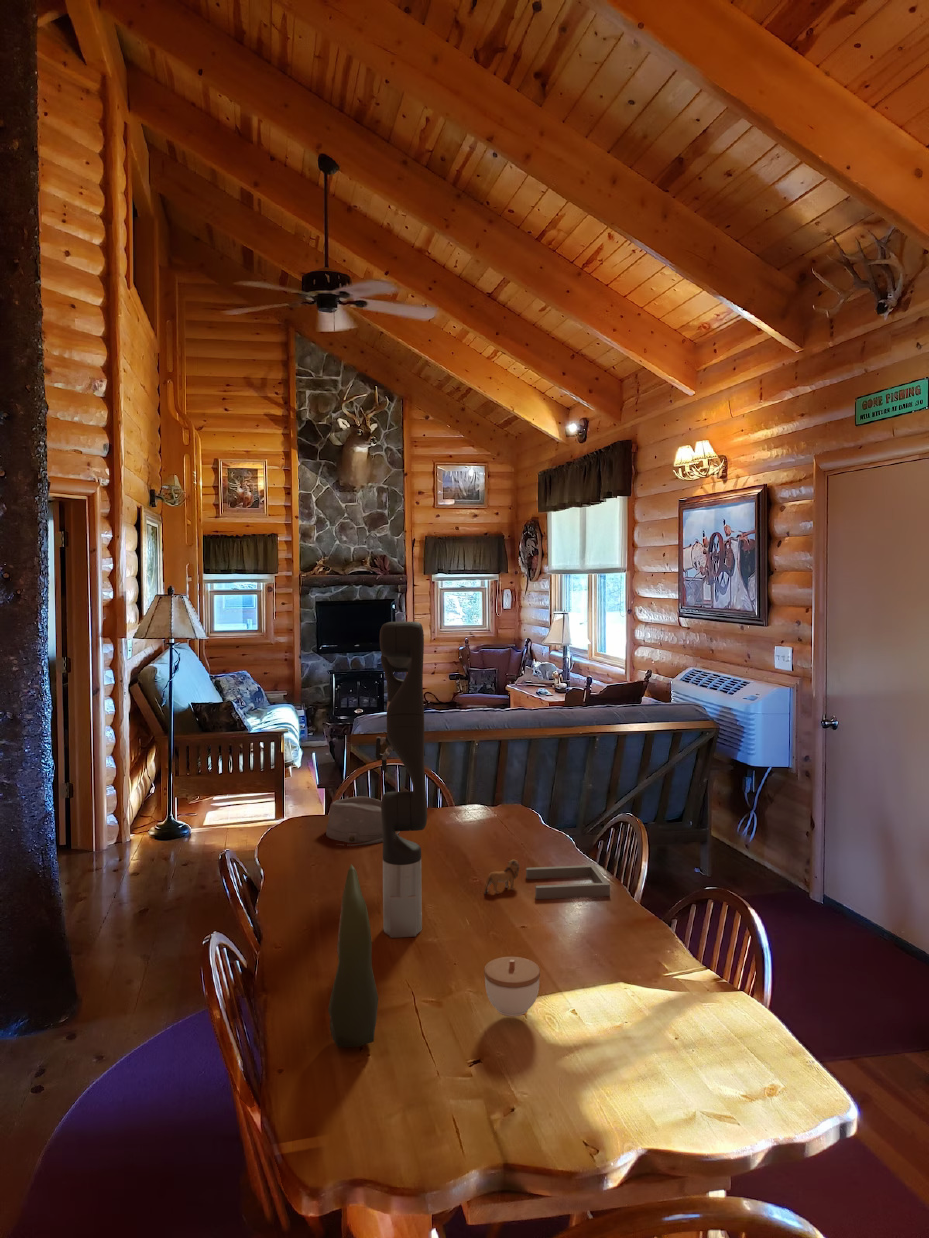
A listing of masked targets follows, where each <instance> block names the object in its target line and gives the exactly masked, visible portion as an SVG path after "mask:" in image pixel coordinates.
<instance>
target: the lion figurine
mask: <svg viewBox="0 0 929 1238" xmlns="http://www.w3.org/2000/svg"><path fill="white" fill-rule="evenodd" d="M519 872H520V863H519V861H518V860H517V859H511V860H509V861H508V862H507V866H506V868H505V869H503V870H502V871H492V872H490V873H489V874H488V875H487V878H486V882H485V883H486V884H485V885H484V895H486V894H488V893H489V889H488V888H489V887H490V885H491V884H492V885H493V891H494V892H495V893H496V894H497V895H499V894H501V892H500V891H499V890H498V885H499V883H504V887H505V888H506V889H507V888H510V889H511V890H512V891H515V889H516V888H515V887H514V884H515V880H516V879H517V878H518V876H519ZM509 882H510V886H509Z"/></svg>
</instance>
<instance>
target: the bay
mask: <svg viewBox="0 0 929 1238" xmlns="http://www.w3.org/2000/svg"><path fill="white" fill-rule="evenodd" d="M525 869H526V870H525V875H526V876H525V877H526V880H537V879H538V880H541V879H542V880H543V879H559V878H581V877H583V878H584V877H590V878H591V879H592V880H593V882H594V883H593V882H592V883H590V882H589V883H587V882H586V883H570V884H568V883H567V884H566V883H565V884H549V885H548V884H546V885H545V884H544V885H535V891H534V893H535V895H534V896H535V899H536V900H551V899H570V898H571V899H572V898H573V899H574V898H575V899H576V898H592V897H593V898H594V897H610V896H611V884H610V883H609V882H608V880H607V879H606V878H605V876H604V875H603V874H602V872H601V871H600V870H599V868H598V867H597V866H596V864H585V865H565V866H564V865H562V866H561V865H560V866H541V867H540V866H537V867H536V866H535V867H526V868H525Z"/></svg>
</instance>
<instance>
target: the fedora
mask: <svg viewBox="0 0 929 1238" xmlns="http://www.w3.org/2000/svg"><path fill="white" fill-rule="evenodd" d="M381 801H382V800H379V799H376V798H374V797H370V796H364V795H359V796H356V795H355V796H352V797H347V798H342V799H341V798H340V799H337V800H335V801H333V802H332V803H331V804H330V808H329V812H328V813H329V814H328V822H327V825H326V831H325V835H326V837H327V838H329V839H331V840H335V841H339V842H345V843H349V844H348V846H350V847H351V846H352V847H353V846H367V845H368V846H369V845H374V844H379V843H383V832H382V817H381ZM396 834H397V835H399V834H400V831H397V832H396ZM350 843H351V844H350ZM353 843H356V844H353ZM337 845H340V846H343V844H341V843H340V844H338V843H337Z"/></svg>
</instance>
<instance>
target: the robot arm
mask: <svg viewBox="0 0 929 1238" xmlns="http://www.w3.org/2000/svg"><path fill="white" fill-rule="evenodd" d="M424 634H425V633H424V628H423V625H422V623H421V622H419V621H388V622H386V623H383V624H382V625H381V628H380V630H379V648H380V652H381V655H380V663H381V666H382V669H383V672H384V677H385V682H386V687H387V704H386V736H384V737H383V736H382V737H381V736H380V735H379V736H378V735H377V736H376V737H375V755H374V757H375V759H380V760H381V771H383V773H384V774H386V773H387V772H388V771H387V769H388V767H387V766H388V765H387V758H388V756H390V754H391V753H392V752H395V754H396V755H397V757H398V758H399V759H400V761H401V763H402V764H403V766H404V767H405V770H406V772H407V773H408V776H409V778H410V781H411V783H412V791H411V790H407V791H403V790H402V791H387V792H385V793H384V794H383V795H382V798H381V800H380V801H381V817H382V832H383V842H382V916H383V917H382V918H383V919H382V921H383V925H382V926H383V927H382V928H383V929H382V930H383V932H384V933H385V934H386V935H387V936H389V938H391V939H392V938H393V939H394V938H411V937H412V938H413V937H417V935H418V934H419V933H420V932H421V931H422V930H423V913H422V911H423V909H422V904H423V903H422V901H423V900H422V898H423V897H422V848H421V846H420V844H418V843H417V842H415V841H411V840H408V839H406V838H404V837H403V836H400V835H399V834H398V835H397V834H396V833H397V832H398V831H399V832H411V831H412V832H413V831H415V832H416V831H417V832H418V831H423V830H424V829H425V828H426V827H427V824H428V823H427V821H428V799H427V787H426V773H425V771H426V770H425V756H426V754H425V707H424V684H423V682H424V681H423V679H424V674H423V673H424V649H425V647H424V646H425V644H424V643H425V635H424ZM394 673H406V676H405V678H404V679H399V678H397V677H396V676H395V675H394ZM384 742H385V743H386V744H387V747H386V749H385V751H384V752H383V753H381V746H382V745H383V744H384Z"/></svg>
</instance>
